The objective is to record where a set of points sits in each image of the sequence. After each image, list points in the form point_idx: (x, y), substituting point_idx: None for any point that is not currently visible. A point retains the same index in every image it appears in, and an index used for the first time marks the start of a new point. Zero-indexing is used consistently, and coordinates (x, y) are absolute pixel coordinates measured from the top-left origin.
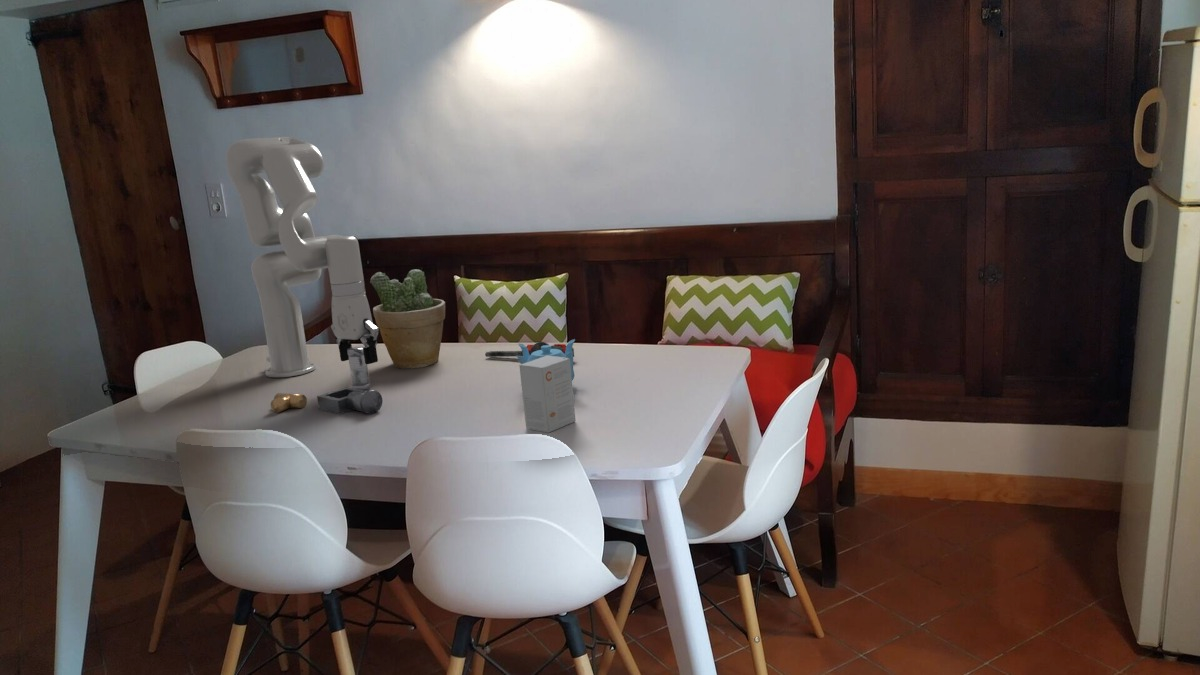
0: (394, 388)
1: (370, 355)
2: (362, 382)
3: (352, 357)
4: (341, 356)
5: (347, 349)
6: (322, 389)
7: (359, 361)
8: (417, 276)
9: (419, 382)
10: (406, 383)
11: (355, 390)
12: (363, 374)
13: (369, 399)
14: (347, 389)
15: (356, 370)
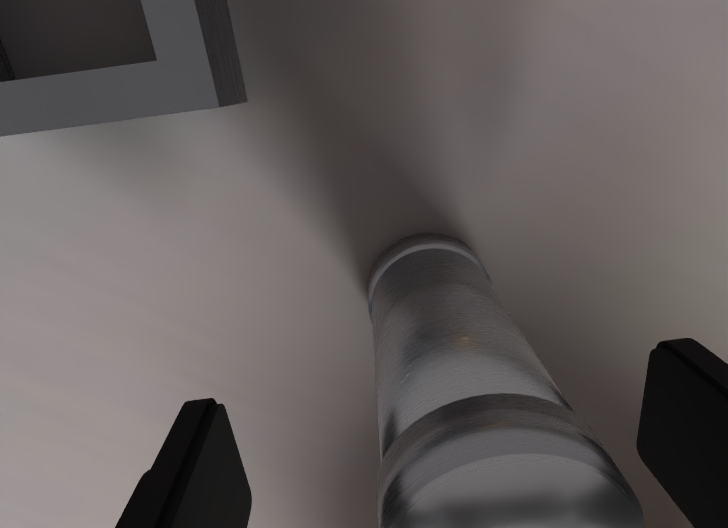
0: (258, 398)
1: (122, 515)
2: (374, 299)
3: (440, 401)
4: (703, 371)
5: (600, 479)
6: (713, 123)
7: (383, 410)
8: None
9: (257, 511)
10: (300, 474)
11: (27, 89)
12: (374, 345)
13: None
14: (135, 63)
15: (397, 325)
